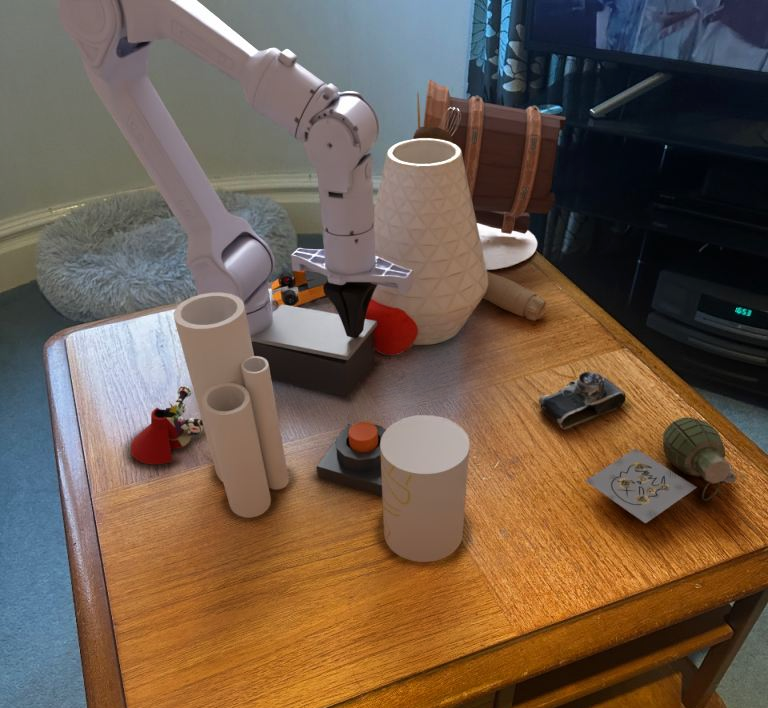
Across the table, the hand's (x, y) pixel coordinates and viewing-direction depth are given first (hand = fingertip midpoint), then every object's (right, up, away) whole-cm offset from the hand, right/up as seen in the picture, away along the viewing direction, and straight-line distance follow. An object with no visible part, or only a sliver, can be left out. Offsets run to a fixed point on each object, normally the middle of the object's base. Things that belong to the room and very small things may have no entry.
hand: (355, 333), depth 88 cm
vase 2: (+9, +5, +14) cm, 17 cm away
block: (+1, -16, -6) cm, 18 cm away
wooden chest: (+9, +30, +20) cm, 37 cm away
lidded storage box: (-5, -3, +7) cm, 9 cm away
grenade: (+37, -13, -6) cm, 40 cm away
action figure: (-22, -13, -2) cm, 26 cm away
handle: (+26, +6, +12) cm, 29 cm away
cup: (+8, -24, -13) cm, 29 cm away
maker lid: (-5, +1, +3) cm, 6 cm away
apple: (+5, +1, +10) cm, 11 cm away
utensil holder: (+8, +21, +7) cm, 24 cm away
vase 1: (-11, -18, -7) cm, 23 cm away
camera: (+27, -9, 0) cm, 29 cm away
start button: (+1, -14, -8) cm, 17 cm away
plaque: (+18, +24, +29) cm, 42 cm away
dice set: (+30, -19, -13) cm, 38 cm away
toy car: (-7, +13, +17) cm, 23 cm away
